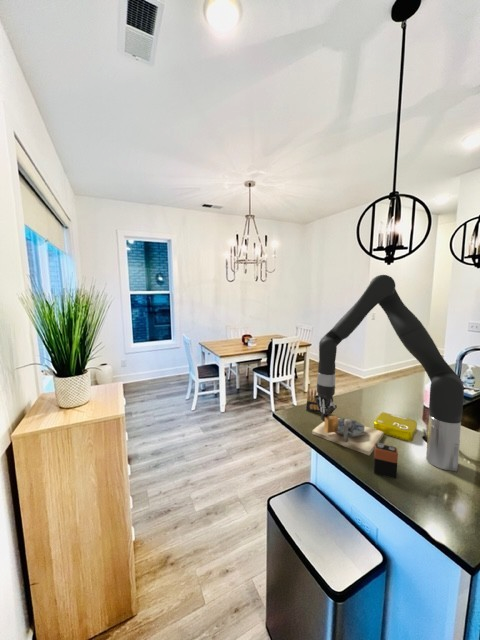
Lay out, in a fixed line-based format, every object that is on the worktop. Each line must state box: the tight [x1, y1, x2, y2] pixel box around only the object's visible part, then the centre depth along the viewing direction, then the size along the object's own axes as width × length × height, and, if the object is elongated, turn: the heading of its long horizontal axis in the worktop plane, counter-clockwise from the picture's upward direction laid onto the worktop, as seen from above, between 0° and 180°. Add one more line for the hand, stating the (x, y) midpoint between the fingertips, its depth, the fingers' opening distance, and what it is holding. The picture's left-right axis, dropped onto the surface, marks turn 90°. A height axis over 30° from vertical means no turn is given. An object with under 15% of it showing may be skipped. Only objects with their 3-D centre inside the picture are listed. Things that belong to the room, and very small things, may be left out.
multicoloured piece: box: [324, 415, 366, 437], centre depth 116 cm, size 18×13×6 cm
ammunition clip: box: [305, 388, 321, 414], centre depth 141 cm, size 11×2×12 cm, turn 69°
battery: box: [373, 442, 399, 479], centre depth 92 cm, size 4×7×10 cm, turn 65°
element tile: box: [373, 412, 418, 442], centre depth 122 cm, size 15×15×5 cm
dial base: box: [311, 417, 385, 457], centre depth 117 cm, size 24×20×8 cm
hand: (324, 420), depth 118 cm, fingers closed
